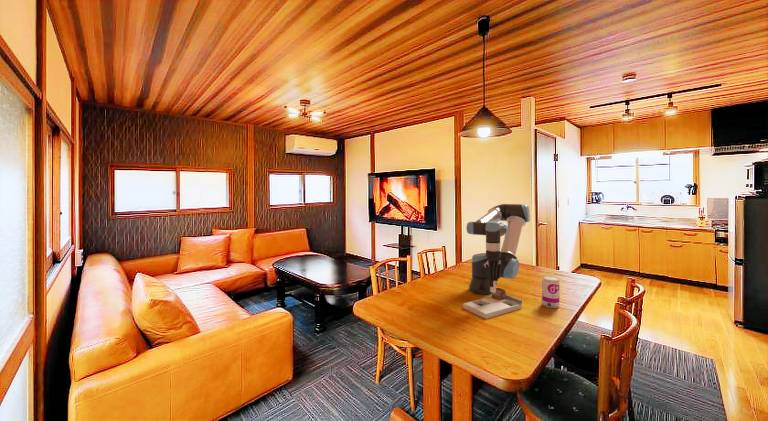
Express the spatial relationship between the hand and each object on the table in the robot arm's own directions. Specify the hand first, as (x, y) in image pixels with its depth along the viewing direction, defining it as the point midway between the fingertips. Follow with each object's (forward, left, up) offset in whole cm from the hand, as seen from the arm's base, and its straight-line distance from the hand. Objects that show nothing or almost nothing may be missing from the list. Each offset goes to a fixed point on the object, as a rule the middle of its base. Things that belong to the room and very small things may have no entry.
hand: (493, 292), depth 167 cm
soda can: (+17, +25, -7) cm, 31 cm away
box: (+4, -5, -7) cm, 9 cm away
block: (0, +4, -4) cm, 6 cm away
